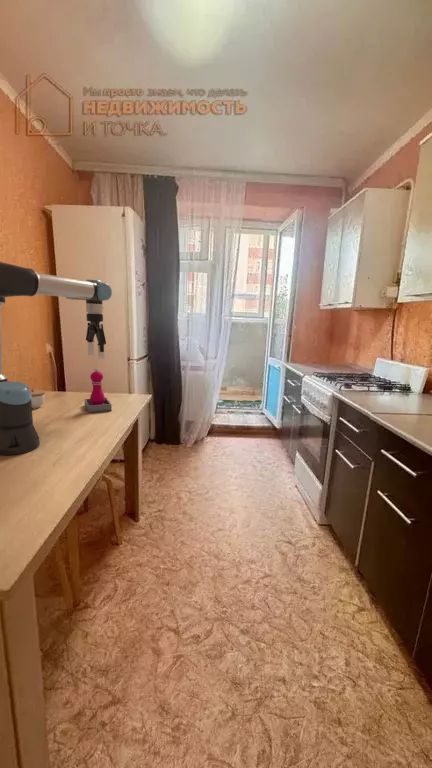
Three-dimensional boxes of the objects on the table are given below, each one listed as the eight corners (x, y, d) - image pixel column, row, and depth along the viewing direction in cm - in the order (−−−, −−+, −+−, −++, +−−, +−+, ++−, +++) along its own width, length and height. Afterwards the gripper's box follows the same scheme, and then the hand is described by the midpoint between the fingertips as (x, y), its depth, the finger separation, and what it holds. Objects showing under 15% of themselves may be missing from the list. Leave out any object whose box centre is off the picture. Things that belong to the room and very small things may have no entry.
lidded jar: (38, 410, 168) (37, 391, 166) (17, 409, 168) (15, 390, 167) (49, 404, 179) (48, 386, 177) (29, 403, 179) (27, 386, 177)
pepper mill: (87, 408, 173) (85, 369, 168) (94, 404, 180) (93, 367, 175) (100, 409, 172) (99, 370, 167) (107, 405, 179) (106, 368, 174)
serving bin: (111, 410, 172) (111, 404, 172) (88, 413, 167) (88, 406, 167) (106, 403, 184) (106, 397, 184) (84, 405, 179) (84, 399, 179)
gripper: (112, 314, 159) (113, 359, 163) (93, 312, 177) (94, 353, 182) (96, 313, 154) (98, 360, 158) (78, 312, 173) (79, 354, 177)
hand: (96, 356), depth 170 cm, fingers open, 13 cm apart
